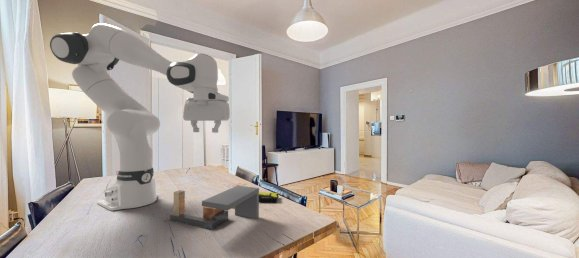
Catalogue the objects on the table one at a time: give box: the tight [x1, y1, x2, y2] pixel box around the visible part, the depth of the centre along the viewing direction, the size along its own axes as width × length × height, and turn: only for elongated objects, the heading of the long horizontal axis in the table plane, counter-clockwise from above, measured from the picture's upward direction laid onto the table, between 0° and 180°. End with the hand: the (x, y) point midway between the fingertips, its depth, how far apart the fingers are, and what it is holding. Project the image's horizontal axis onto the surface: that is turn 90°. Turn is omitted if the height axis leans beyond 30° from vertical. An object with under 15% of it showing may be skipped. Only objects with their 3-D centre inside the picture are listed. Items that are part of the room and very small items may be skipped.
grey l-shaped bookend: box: [201, 185, 260, 220], centre depth 68 cm, size 9×18×10 cm, turn 160°
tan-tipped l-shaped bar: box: [169, 190, 229, 230], centre depth 73 cm, size 18×8×10 cm, turn 69°
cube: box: [202, 206, 223, 220], centre depth 73 cm, size 5×5×5 cm
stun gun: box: [232, 191, 279, 210], centre depth 90 cm, size 3×19×15 cm
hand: (205, 132), depth 82 cm, fingers open, 8 cm apart
